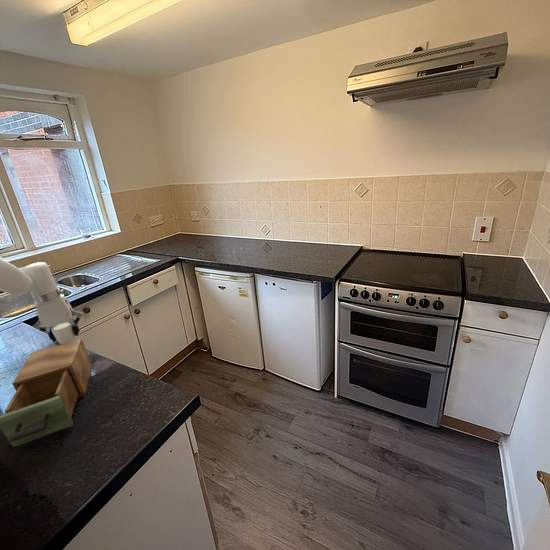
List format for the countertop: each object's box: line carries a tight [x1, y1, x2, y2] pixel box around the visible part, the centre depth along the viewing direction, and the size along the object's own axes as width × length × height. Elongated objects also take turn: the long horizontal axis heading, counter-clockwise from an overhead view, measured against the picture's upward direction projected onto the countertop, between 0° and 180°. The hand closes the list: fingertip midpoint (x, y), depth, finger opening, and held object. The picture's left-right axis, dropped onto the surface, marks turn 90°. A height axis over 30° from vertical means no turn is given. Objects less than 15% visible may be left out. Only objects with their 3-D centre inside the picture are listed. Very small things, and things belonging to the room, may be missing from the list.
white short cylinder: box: [51, 322, 78, 345], centre depth 115 cm, size 7×7×7 cm
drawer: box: [0, 369, 79, 448], centre depth 75 cm, size 19×12×9 cm, turn 23°
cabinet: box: [11, 338, 94, 399], centre depth 88 cm, size 16×14×11 cm
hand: (66, 336), depth 116 cm, fingers closed on white short cylinder, 6 cm apart
